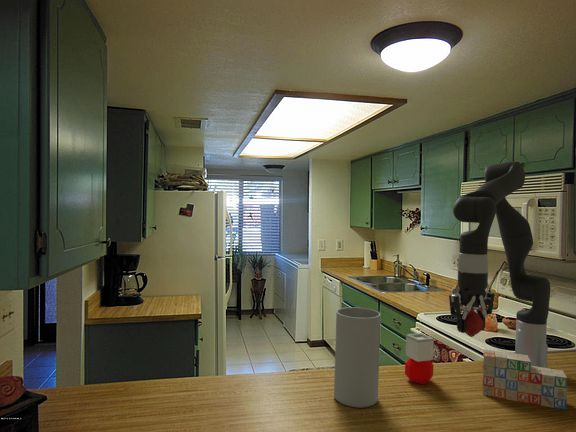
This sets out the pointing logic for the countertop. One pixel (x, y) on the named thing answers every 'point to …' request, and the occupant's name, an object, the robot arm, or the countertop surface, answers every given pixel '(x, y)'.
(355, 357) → the cylinder vase
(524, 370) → the stack of blocks
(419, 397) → the countertop surface
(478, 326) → the onion
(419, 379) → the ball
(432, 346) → the socket block
